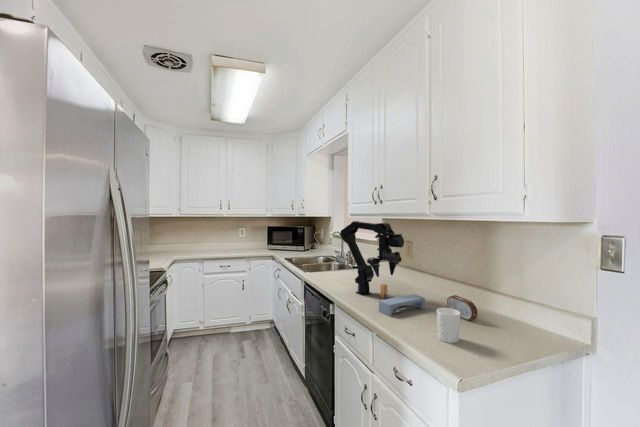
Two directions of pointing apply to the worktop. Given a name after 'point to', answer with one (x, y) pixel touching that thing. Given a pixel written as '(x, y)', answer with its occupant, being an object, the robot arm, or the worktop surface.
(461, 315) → the tin
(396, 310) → the puck
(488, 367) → the worktop surface
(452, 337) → the white cup
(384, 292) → the hook tool
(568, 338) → the worktop surface
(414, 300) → the bench
